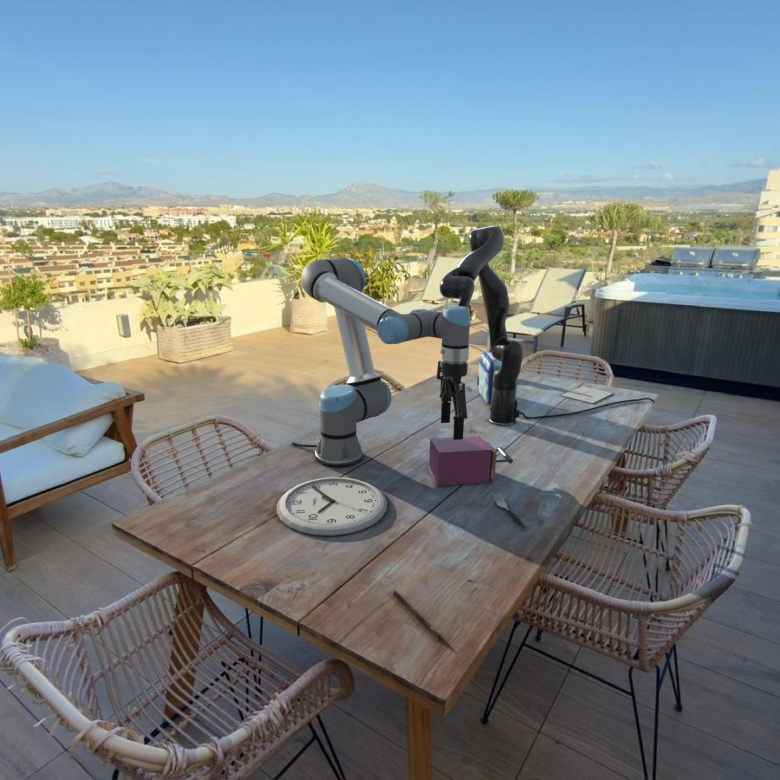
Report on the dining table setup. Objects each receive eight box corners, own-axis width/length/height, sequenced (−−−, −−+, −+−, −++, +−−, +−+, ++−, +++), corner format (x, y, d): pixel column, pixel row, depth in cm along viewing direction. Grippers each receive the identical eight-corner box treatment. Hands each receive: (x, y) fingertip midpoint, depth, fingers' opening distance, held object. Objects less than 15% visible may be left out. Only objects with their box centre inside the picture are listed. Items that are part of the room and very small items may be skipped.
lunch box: (475, 390, 246) (478, 346, 240) (498, 390, 246) (501, 347, 240) (484, 408, 221) (487, 360, 215) (509, 409, 221) (513, 360, 215)
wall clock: (392, 527, 129) (268, 531, 127) (391, 533, 130) (269, 537, 127) (383, 473, 158) (282, 475, 155) (383, 478, 158) (282, 480, 156)
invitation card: (582, 386, 254) (612, 393, 244) (582, 386, 255) (612, 393, 244) (561, 395, 240) (592, 402, 230) (561, 395, 240) (592, 403, 230)
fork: (520, 530, 132) (521, 523, 132) (492, 499, 147) (492, 493, 146) (529, 529, 133) (530, 522, 132) (500, 498, 147) (501, 492, 147)
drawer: (500, 464, 167) (502, 438, 165) (512, 477, 159) (514, 450, 156) (439, 467, 164) (440, 441, 161) (447, 481, 155) (448, 454, 153)
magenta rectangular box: (477, 467, 167) (479, 435, 164) (488, 482, 157) (491, 449, 154) (428, 470, 164) (430, 438, 161) (437, 486, 154) (438, 452, 151)
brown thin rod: (392, 594, 108) (393, 590, 108) (394, 593, 109) (394, 589, 108) (438, 640, 96) (438, 636, 96) (440, 639, 97) (440, 635, 96)
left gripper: (431, 351, 160) (429, 417, 167) (454, 372, 137) (450, 447, 143) (454, 351, 162) (451, 415, 168) (481, 371, 138) (477, 446, 144)
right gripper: (454, 335, 173) (451, 382, 178) (431, 341, 162) (429, 391, 167) (474, 338, 169) (471, 386, 174) (452, 345, 158) (449, 396, 163)
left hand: (451, 430), depth 155 cm, fingers open, 13 cm apart
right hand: (450, 388), depth 170 cm, fingers open, 8 cm apart
